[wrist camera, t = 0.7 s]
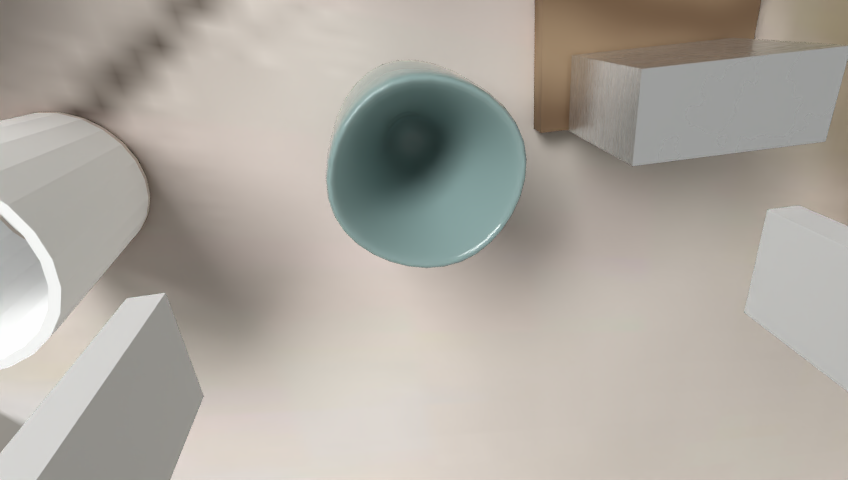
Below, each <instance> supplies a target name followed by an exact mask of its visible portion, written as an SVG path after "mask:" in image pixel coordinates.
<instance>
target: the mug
mask: <svg viewBox="0 0 848 480" xmlns="http://www.w3.org/2000/svg"><path fill="white" fill-rule="evenodd" d="M149 205H150V192H149V187H148V182H147V177H146V175H145V173H144V171H143V169H142V167H141V165H140V163H139V161H138V160H137V158H136V157H135V156H134V155H133V154H132V152H131V151H130V150H129V149H128V148H127V146H126V145H125V144H124V143H123V142H122V141H121V140H119V139H118V138H117V137H115V136H114V135H113V134H112V133H110V132H109V131H108V130H106V129H105V128H103V127H101V126H99V125H97V124H95V123H93V122H91V121H89V120H87V119H85V118H82V117H78V116H74V115H70V114H66V113H62V112H36V113H32V114H28V115H23V116H19V117H14V118H10V119H5V120H1V121H0V369H4V368H8V367H11V366H13V365H15V364H17V363H18V362H20V361H22V360H24V359H26V358H27V357H29V356H31V355H33V354H34V353H35V352H36V351H37V350H38V349H39V348H40V347H41V346H42V345H43V344H44V343H45V342H46V341H47V340H48V339H49V338H50V337H51V336H52V334H53V333H54V332H55V331H56V330H57V329H58V328H59V326H60V325H61V324H62V323H63V322H64V320H65V319H66V318H67V317H68V316H69V314H70V313H71V312H72V311H73V310H74V308H75V307H76V306H77V305H78V304H79V302H80V301H81V300H82V299H83V298H84V296H85V295H86V294H87V293H88V292H89V291H90V289H91V288H92V287H93V286H94V285H95V283H96V282H97V281H98V280H99V279H100V277H101V276H102V275H103V274H104V273H105V271H106V270H107V269H108V268H109V267H110V265H111V264H112V263H113V262H114V261H115V259H116V258H117V257H118V256H119V255H120V253H121V252H122V251H123V250H124V249H125V247H126V246H127V245H128V244H129V243H130V241H131V240H132V239H133V238H134V237H135V235H136V234H137V233H138V232H139V231H140V229H141V228H142V227H143V224H144V222H145V220H146V218H147V216H148V213H149Z"/></svg>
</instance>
